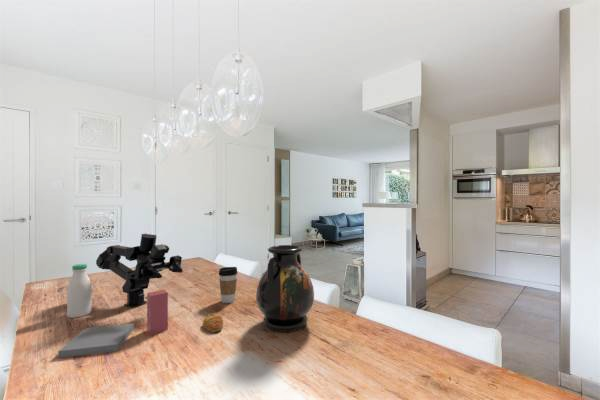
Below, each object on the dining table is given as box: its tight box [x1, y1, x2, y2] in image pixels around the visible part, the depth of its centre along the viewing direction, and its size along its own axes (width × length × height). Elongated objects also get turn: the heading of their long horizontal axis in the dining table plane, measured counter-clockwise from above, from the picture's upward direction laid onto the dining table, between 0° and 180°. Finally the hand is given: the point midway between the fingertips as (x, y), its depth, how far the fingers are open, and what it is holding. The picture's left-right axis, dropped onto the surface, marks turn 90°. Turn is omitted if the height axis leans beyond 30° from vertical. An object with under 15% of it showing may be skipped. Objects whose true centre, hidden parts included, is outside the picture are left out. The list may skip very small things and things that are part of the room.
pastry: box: [202, 313, 224, 333], centre depth 99 cm, size 9×7×4 cm
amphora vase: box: [255, 244, 315, 332], centre depth 102 cm, size 22×22×28 cm
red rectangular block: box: [146, 289, 169, 336], centre depth 97 cm, size 4×6×13 cm
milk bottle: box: [66, 263, 93, 319], centre depth 111 cm, size 8×8×20 cm
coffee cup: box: [218, 266, 238, 304], centre depth 126 cm, size 8×8×15 cm
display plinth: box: [58, 323, 135, 359], centre depth 89 cm, size 15×15×2 cm
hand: (172, 273), depth 109 cm, fingers open, 9 cm apart
